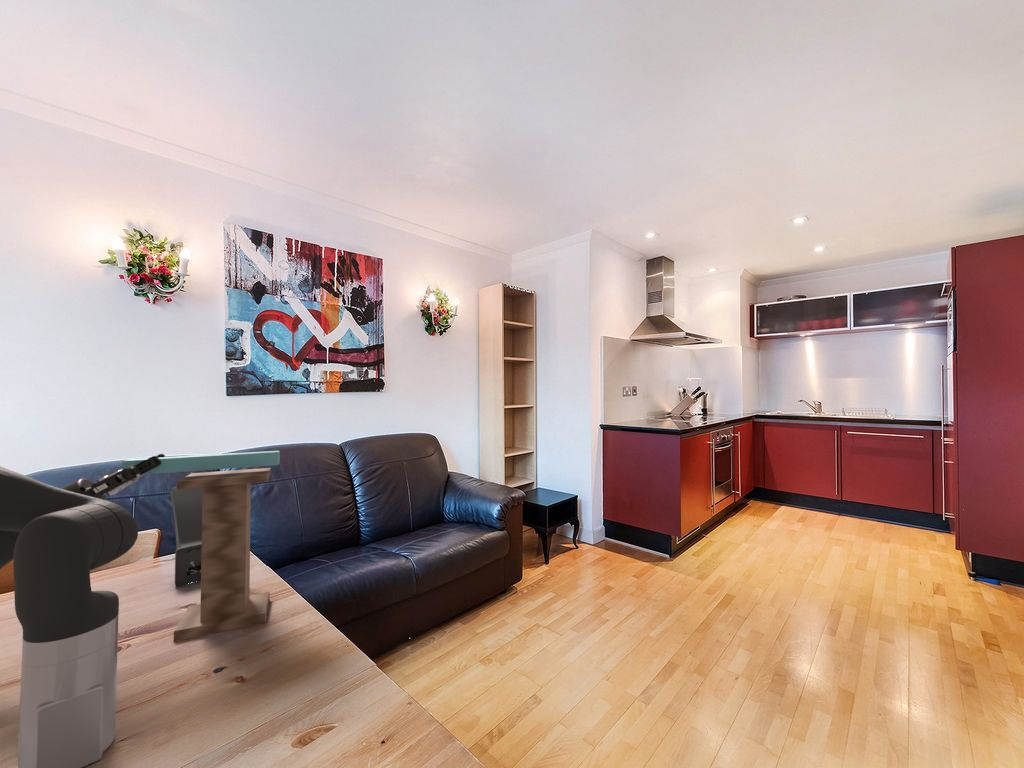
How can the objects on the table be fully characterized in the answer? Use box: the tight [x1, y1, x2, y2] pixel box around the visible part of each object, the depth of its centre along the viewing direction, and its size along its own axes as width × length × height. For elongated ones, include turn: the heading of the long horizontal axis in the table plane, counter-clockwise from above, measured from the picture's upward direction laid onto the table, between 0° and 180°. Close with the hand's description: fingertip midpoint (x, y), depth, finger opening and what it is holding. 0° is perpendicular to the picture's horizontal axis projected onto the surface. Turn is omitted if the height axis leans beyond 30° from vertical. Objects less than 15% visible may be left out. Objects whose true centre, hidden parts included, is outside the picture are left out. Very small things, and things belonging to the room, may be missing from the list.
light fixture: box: [169, 486, 203, 588], centre depth 122 cm, size 11×17×24 cm, turn 48°
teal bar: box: [121, 450, 281, 475], centre depth 94 cm, size 28×4×3 cm, turn 116°
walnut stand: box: [173, 467, 272, 642], centre depth 95 cm, size 16×12×32 cm
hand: (161, 458), depth 91 cm, fingers closed on teal bar, 4 cm apart
